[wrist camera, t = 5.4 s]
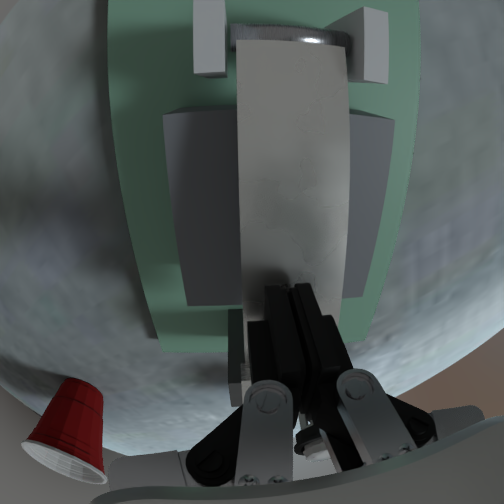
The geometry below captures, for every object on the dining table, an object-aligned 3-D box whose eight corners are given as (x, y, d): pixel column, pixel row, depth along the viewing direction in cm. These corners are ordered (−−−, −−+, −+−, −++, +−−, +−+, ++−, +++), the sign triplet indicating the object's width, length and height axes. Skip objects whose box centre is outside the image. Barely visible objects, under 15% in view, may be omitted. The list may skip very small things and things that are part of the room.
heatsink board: (118, -15, 10) (54, -57, 4) (406, -4, 11) (486, -25, 4) (165, 339, 25) (152, 416, 18) (359, 328, 26) (388, 398, 19)
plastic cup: (122, 382, 29) (103, 475, 19) (121, 417, 34) (109, 490, 24) (40, 352, 26) (7, 436, 16) (53, 393, 32) (33, 462, 21)
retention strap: (230, 31, 9) (230, 6, 7) (338, 37, 9) (357, 17, 7) (242, 390, 14) (243, 420, 12) (324, 382, 14) (335, 411, 12)
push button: (280, 391, 31) (292, 470, 22) (262, 369, 28) (272, 459, 20) (336, 372, 30) (359, 452, 21) (325, 347, 27) (351, 438, 18)
